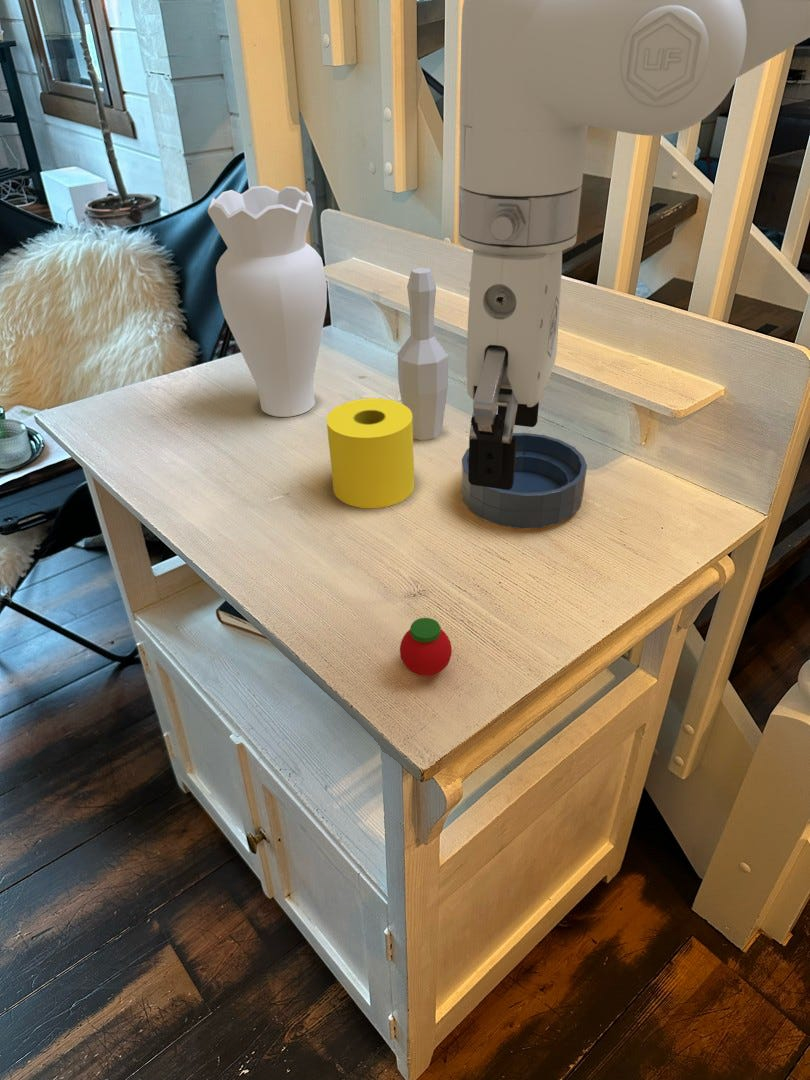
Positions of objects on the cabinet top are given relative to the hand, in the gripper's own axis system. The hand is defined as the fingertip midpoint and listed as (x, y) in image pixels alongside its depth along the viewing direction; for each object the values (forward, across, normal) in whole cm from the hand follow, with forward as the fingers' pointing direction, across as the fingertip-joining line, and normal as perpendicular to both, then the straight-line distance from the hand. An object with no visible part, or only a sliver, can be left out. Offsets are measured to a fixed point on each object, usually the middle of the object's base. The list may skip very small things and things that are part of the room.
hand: (504, 452), depth 58 cm
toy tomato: (+21, -4, +5) cm, 22 cm away
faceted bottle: (+21, +39, +18) cm, 48 cm away
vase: (+21, +42, +40) cm, 62 cm away
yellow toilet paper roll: (+21, +24, +20) cm, 38 cm away
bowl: (+21, +26, +2) cm, 33 cm away
